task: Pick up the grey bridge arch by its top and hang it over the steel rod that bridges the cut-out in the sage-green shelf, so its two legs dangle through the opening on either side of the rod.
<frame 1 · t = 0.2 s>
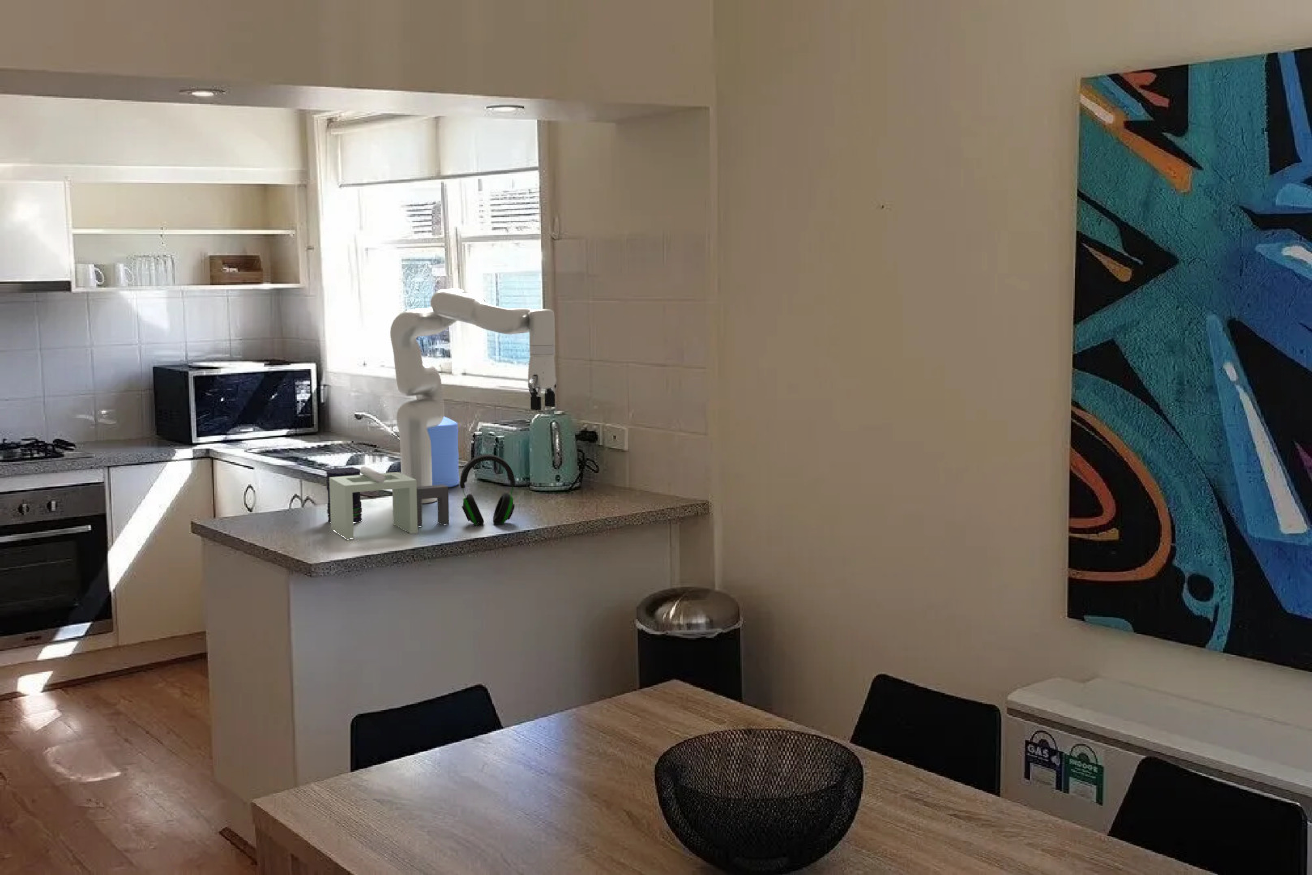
hand: (543, 408, 418), 31 cm above the table, tool pointing down, fingers open, 9 cm apart
light blue cylinder: (435, 485, 469), on the table
headphones: (488, 524, 402), on the table
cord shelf: (374, 531, 391), on the table
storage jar: (345, 521, 406), on the table
grey bridge arch: (430, 524, 401), on the table
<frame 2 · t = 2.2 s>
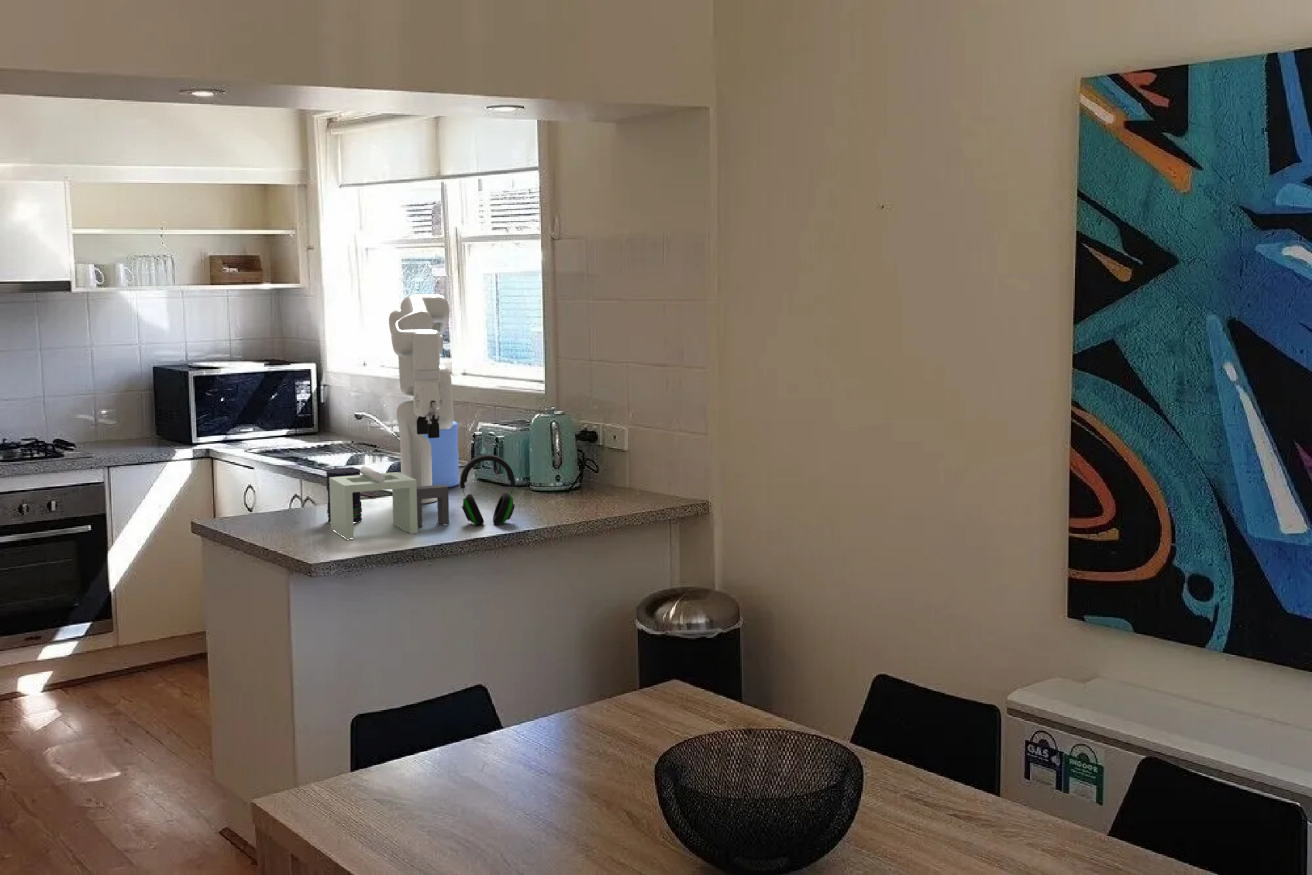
hand: (428, 435, 397), 26 cm above the table, tool pointing down, fingers open, 9 cm apart
nothing on the table moved.
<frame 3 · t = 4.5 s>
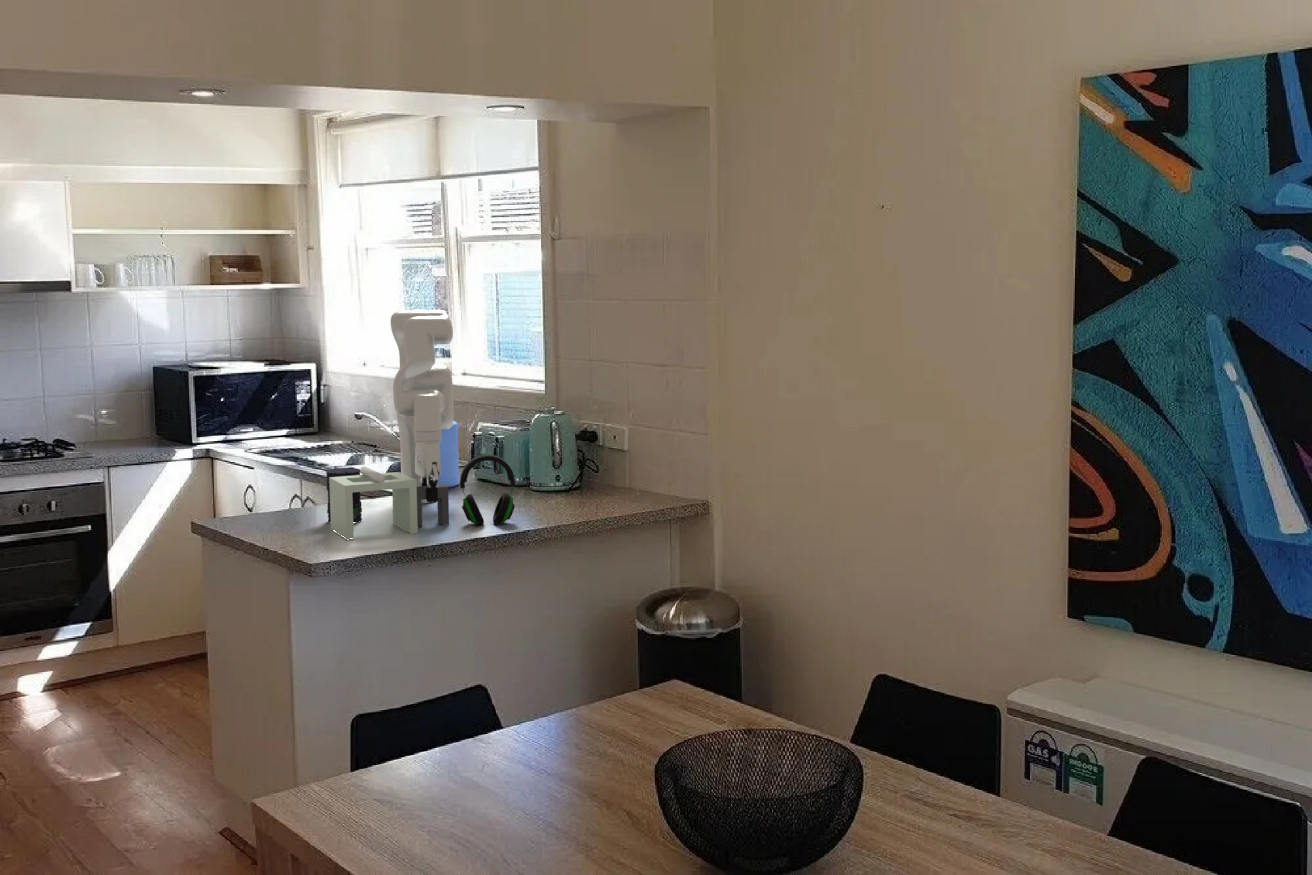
hand: (429, 499, 400), 7 cm above the table, tool pointing down, fingers closed on grey bridge arch, 4 cm apart
grey bridge arch: (430, 524, 401), on the table, touching gripper
everything else where it was.
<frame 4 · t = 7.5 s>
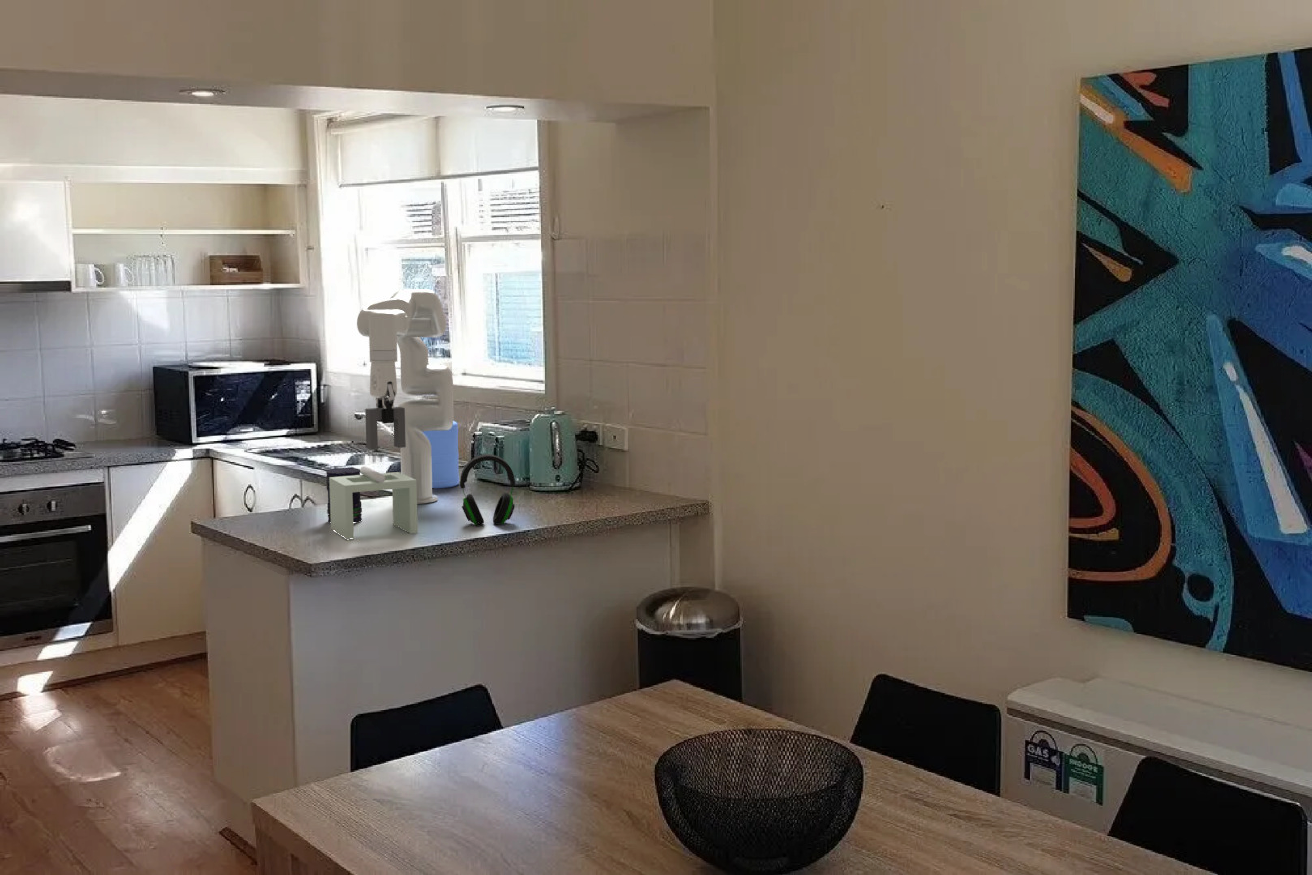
hand: (385, 421, 389), 31 cm above the table, tool pointing down, fingers closed on grey bridge arch, 4 cm apart
grey bridge arch: (386, 447, 390), point 23 cm above the table, touching gripper
everything else where it was.
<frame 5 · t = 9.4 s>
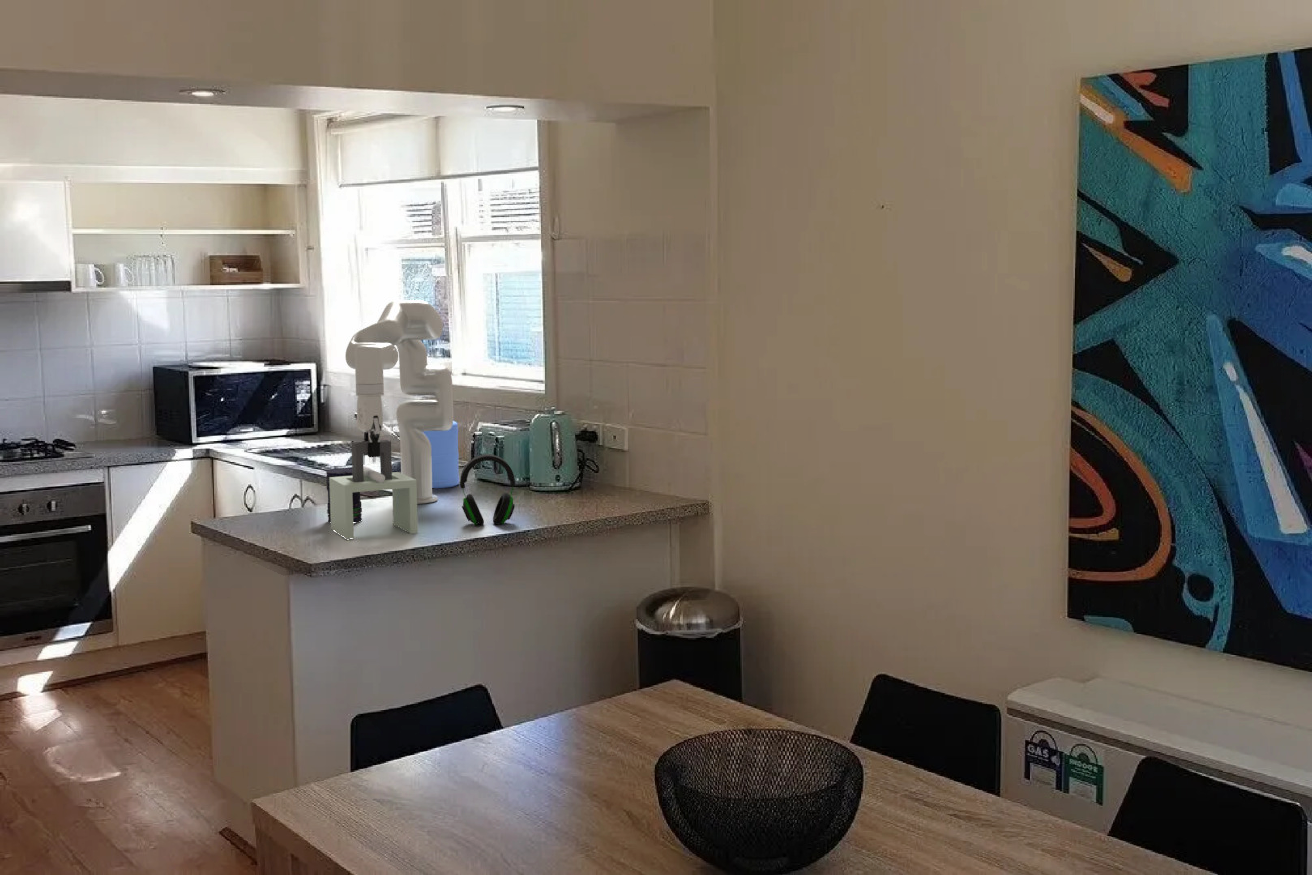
hand: (371, 455, 388), 22 cm above the table, tool pointing down, fingers closed on grey bridge arch, 4 cm apart
grey bridge arch: (372, 481, 389), point 14 cm above the table, touching gripper
everything else where it was.
when the fingers open (19 cm above the table, at t = 10.6 s): grey bridge arch drops 2 cm, resting on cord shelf.
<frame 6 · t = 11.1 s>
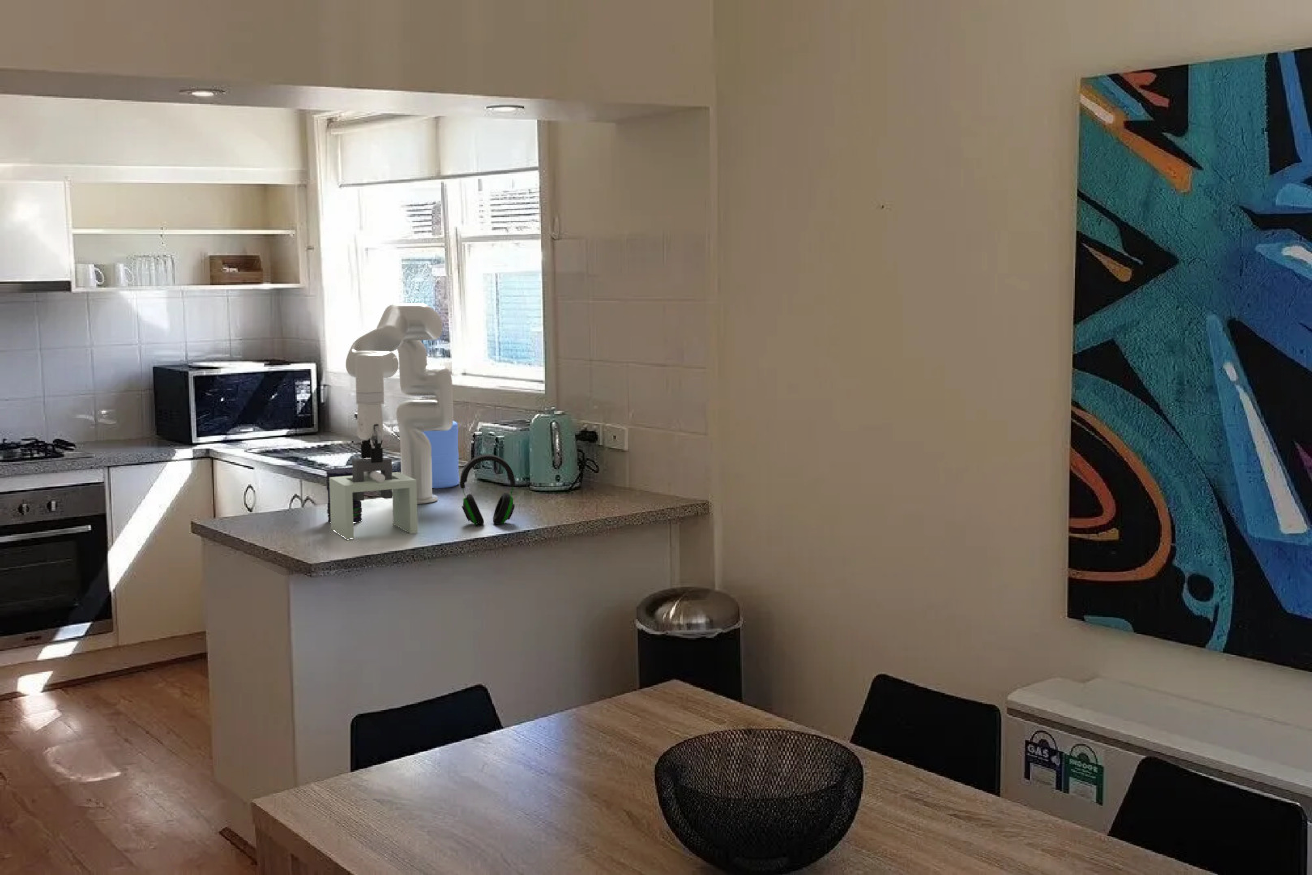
hand: (371, 460, 388), 20 cm above the table, tool pointing down, fingers open, 9 cm apart
grey bridge arch: (372, 498, 390), point 9 cm above the table, touching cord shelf
everything else where it was.
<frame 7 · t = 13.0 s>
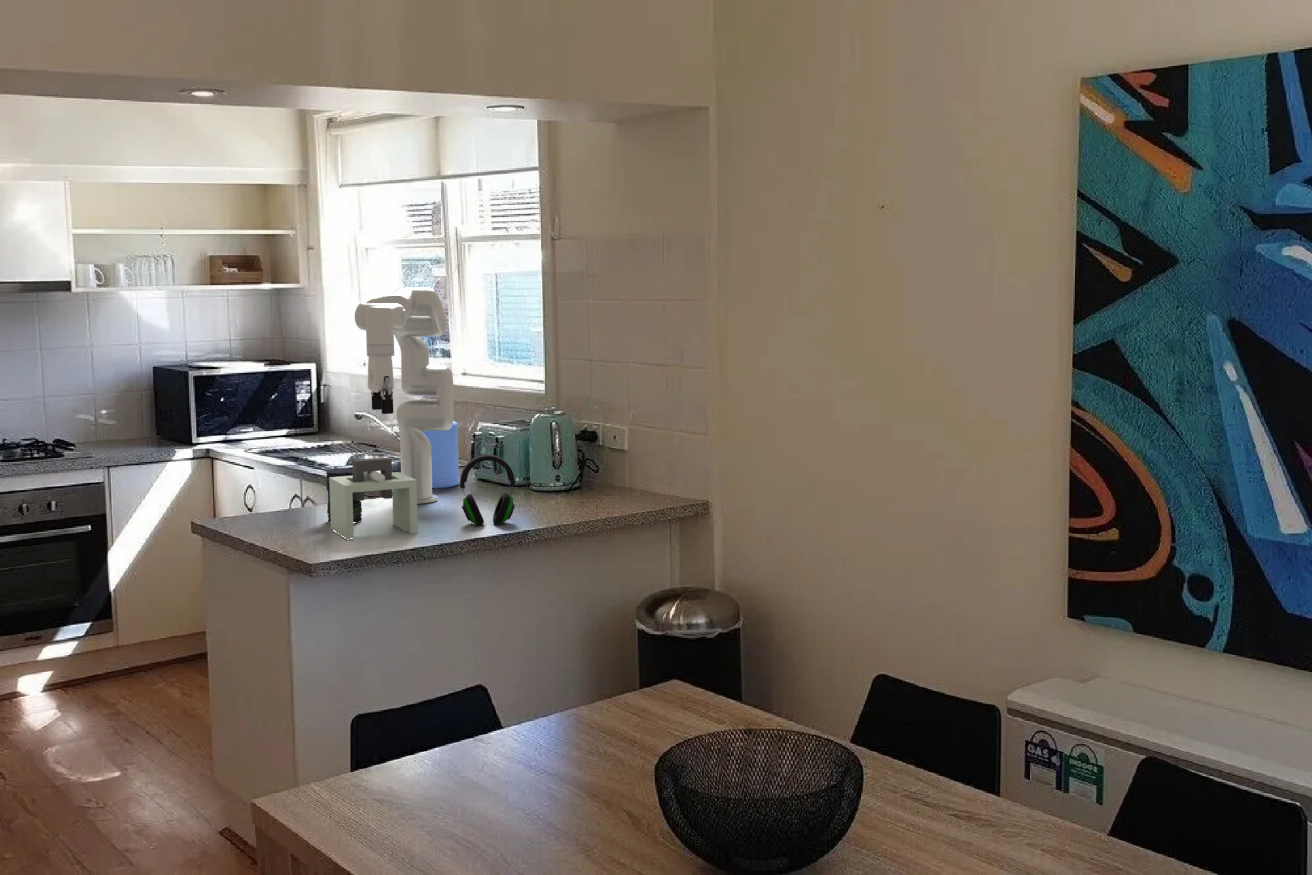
hand: (382, 411, 392), 33 cm above the table, tool pointing down, fingers open, 9 cm apart
nothing on the table moved.
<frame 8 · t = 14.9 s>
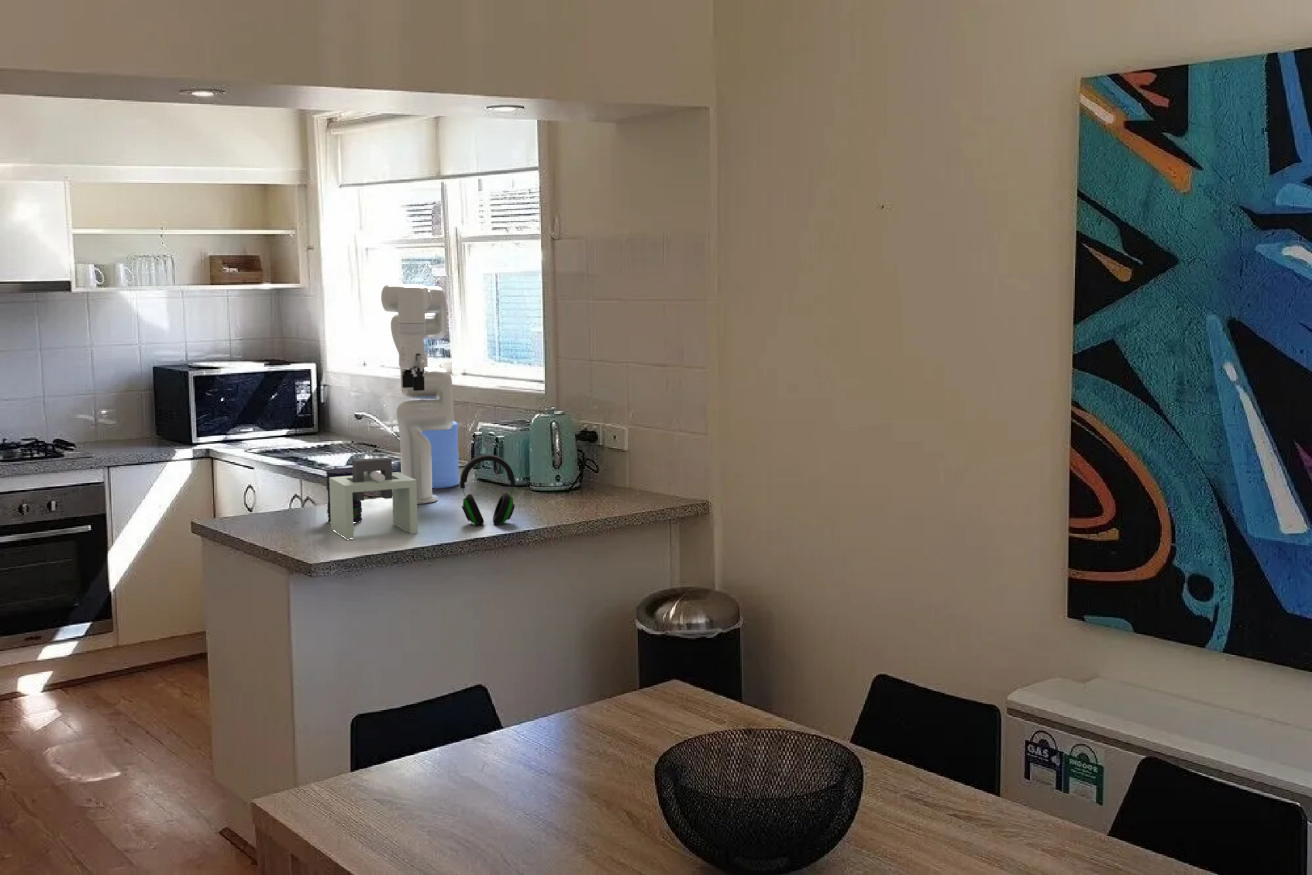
hand: (413, 389, 403), 38 cm above the table, tool pointing down, fingers open, 9 cm apart
nothing on the table moved.
at the end: grey bridge arch 0.1 cm off-centre on the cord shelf, point 9.4 cm above the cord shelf's base; grey bridge arch tilted 0°; the gripper is holding nothing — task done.
